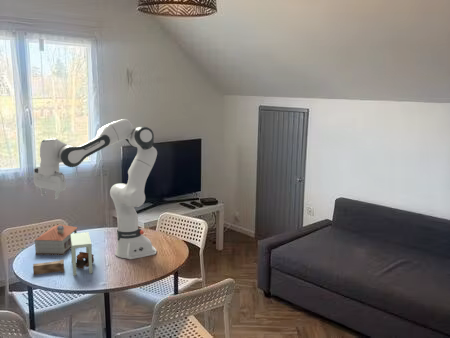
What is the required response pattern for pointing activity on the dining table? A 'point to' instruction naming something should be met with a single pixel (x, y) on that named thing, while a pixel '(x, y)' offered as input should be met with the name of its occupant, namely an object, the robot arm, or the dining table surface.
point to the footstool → (79, 242)
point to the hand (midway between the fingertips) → (50, 197)
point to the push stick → (48, 267)
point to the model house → (55, 240)
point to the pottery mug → (81, 261)
